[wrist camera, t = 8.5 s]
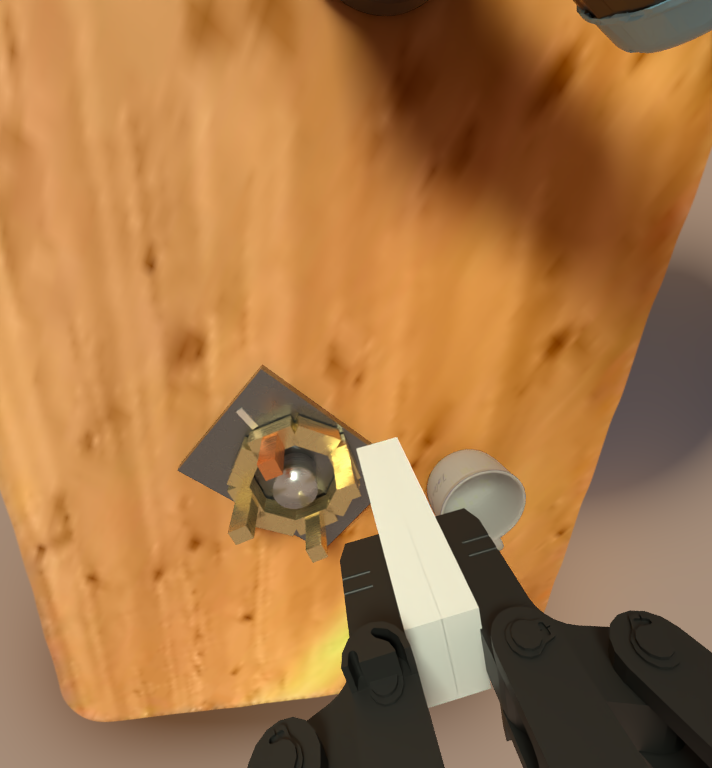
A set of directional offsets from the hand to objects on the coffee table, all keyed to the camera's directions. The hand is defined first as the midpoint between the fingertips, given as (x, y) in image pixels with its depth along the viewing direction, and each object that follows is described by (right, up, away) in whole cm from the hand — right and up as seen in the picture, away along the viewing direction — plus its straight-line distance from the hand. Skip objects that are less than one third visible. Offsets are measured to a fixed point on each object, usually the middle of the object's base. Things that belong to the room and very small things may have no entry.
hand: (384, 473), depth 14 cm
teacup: (+13, -10, +38) cm, 42 cm away
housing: (-9, -7, +33) cm, 35 cm away
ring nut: (-8, -7, +32) cm, 34 cm away
